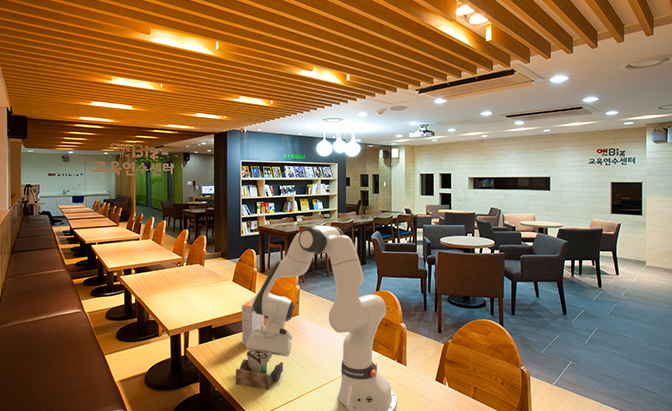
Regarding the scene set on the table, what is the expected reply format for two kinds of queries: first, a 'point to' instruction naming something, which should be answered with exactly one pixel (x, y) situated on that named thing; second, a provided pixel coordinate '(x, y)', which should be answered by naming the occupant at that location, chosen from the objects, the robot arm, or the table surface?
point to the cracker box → (250, 321)
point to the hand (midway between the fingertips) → (262, 363)
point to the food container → (257, 361)
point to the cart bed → (257, 376)
